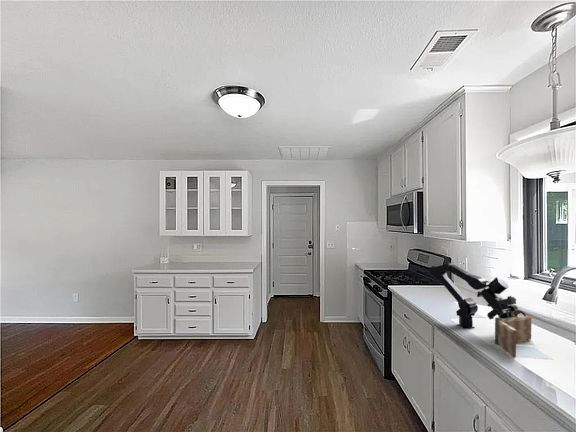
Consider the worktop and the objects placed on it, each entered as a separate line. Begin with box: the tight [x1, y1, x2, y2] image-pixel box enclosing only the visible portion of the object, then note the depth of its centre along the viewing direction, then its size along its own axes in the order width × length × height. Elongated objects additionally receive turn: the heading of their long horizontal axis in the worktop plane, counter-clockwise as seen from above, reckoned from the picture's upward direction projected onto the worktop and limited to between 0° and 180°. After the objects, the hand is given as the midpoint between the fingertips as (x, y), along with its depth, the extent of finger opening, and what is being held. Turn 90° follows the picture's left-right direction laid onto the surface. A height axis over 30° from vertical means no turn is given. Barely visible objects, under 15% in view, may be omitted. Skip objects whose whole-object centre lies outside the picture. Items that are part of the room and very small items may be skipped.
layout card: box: [491, 341, 554, 361], centre depth 154 cm, size 17×17×1 cm
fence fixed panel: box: [494, 316, 517, 358], centre depth 154 cm, size 17×2×12 cm, turn 171°
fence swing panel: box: [501, 315, 533, 342], centre depth 164 cm, size 19×1×11 cm, turn 108°
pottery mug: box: [512, 309, 527, 317], centre depth 198 cm, size 12×10×8 cm
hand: (515, 327), depth 165 cm, fingers closed
